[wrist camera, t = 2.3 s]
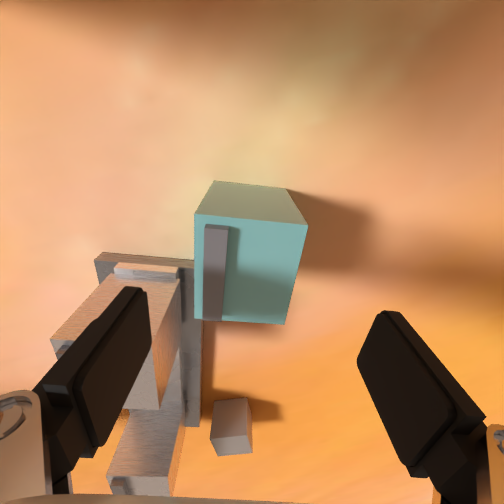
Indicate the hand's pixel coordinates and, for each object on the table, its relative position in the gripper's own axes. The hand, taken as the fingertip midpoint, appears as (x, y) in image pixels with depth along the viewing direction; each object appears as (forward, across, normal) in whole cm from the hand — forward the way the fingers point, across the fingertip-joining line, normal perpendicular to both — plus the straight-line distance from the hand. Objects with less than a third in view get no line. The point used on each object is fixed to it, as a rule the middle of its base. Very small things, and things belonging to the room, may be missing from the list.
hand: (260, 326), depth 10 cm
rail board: (+10, +8, +14) cm, 19 cm away
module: (+10, +1, -1) cm, 10 cm away
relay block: (+10, 0, +24) cm, 26 cm away
